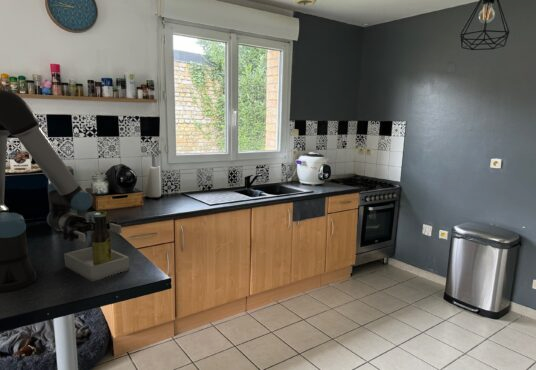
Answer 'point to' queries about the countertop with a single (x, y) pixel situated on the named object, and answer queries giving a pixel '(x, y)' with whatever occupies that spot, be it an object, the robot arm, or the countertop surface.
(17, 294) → the countertop surface
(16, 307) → the countertop surface
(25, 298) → the countertop surface
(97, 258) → the sauce bottle
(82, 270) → the tray
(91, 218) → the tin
